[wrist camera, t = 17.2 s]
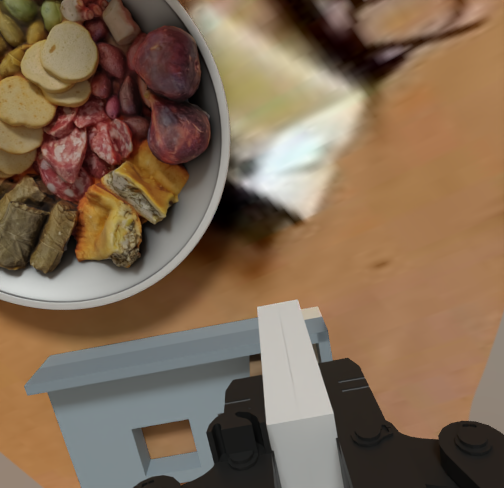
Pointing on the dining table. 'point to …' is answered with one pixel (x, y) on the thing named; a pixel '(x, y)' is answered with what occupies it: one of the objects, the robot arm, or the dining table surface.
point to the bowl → (104, 147)
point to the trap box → (151, 396)
